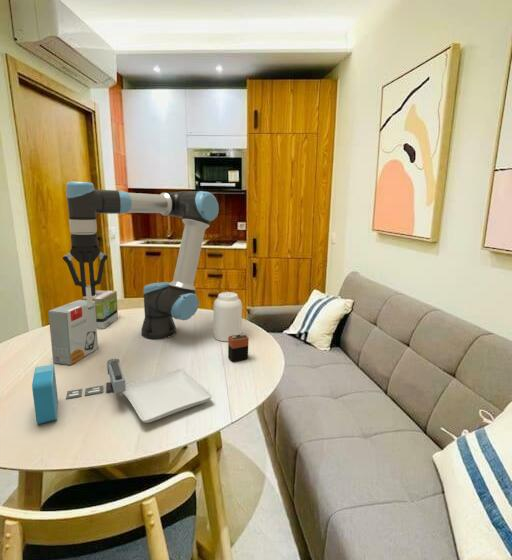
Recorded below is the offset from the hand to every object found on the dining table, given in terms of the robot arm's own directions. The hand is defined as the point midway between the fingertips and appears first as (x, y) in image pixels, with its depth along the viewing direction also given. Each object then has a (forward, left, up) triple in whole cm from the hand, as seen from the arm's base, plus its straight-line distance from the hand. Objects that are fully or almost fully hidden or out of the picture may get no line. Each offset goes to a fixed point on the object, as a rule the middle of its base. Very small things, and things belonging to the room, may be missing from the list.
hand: (89, 305), depth 109 cm
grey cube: (-6, +12, -24) cm, 28 cm away
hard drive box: (+7, -17, -25) cm, 31 cm away
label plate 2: (0, +12, -24) cm, 27 cm away
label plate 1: (+6, +12, -24) cm, 28 cm away
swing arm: (-7, +18, -19) cm, 27 cm away
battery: (-50, +6, -25) cm, 56 cm away
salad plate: (-20, +24, -25) cm, 40 cm away
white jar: (-53, -16, -25) cm, 61 cm away
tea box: (-1, -51, -25) cm, 57 cm away
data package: (+11, +19, -25) cm, 33 cm away
